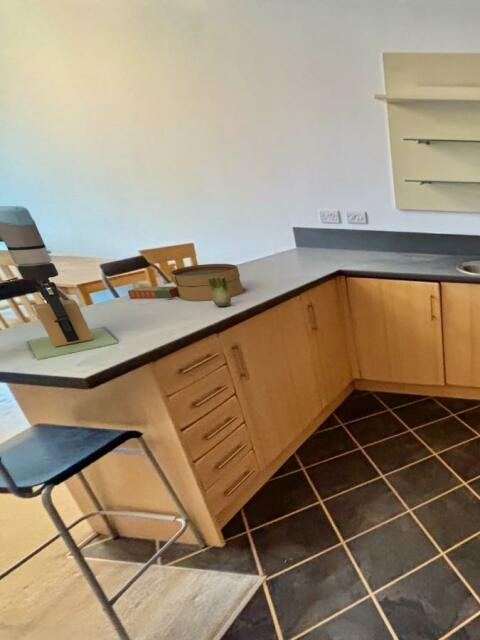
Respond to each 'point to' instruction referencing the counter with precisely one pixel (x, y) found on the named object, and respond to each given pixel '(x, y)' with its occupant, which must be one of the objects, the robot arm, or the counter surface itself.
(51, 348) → the mat
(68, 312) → the packet
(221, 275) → the steamer basket
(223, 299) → the fennel bulb
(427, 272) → the counter surface
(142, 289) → the carton
